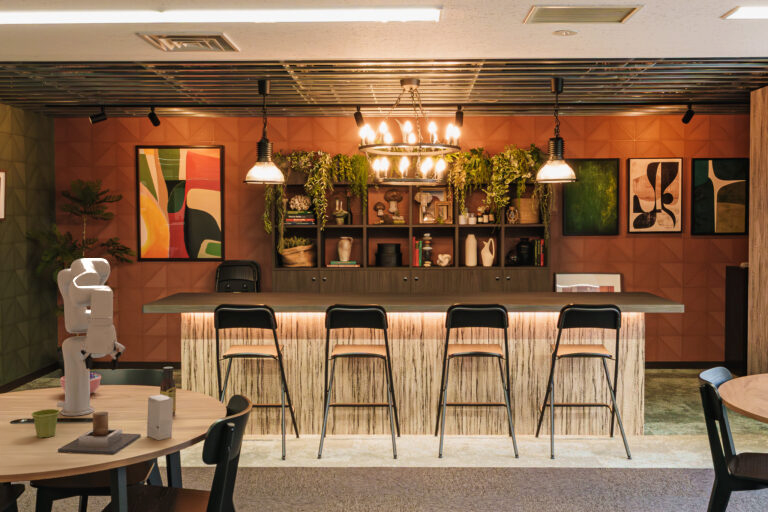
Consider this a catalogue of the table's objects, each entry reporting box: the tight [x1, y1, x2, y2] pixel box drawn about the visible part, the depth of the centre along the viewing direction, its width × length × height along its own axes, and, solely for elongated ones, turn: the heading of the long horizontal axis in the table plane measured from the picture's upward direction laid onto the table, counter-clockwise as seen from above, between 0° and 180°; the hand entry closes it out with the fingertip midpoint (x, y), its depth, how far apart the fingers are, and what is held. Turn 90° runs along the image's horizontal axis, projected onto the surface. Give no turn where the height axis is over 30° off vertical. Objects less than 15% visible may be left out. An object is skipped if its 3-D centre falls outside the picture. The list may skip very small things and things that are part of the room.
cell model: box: [60, 372, 102, 395], centre depth 314 cm, size 17×20×11 cm
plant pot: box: [31, 408, 61, 439], centre depth 251 cm, size 9×9×9 cm
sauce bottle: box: [159, 366, 177, 417], centre depth 279 cm, size 7×6×20 cm
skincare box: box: [146, 394, 174, 441], centre depth 251 cm, size 8×6×15 cm
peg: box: [92, 411, 109, 437], centre depth 242 cm, size 5×5×10 cm
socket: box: [57, 428, 142, 455], centre depth 242 cm, size 20×20×4 cm
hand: (101, 368), depth 248 cm, fingers open, 9 cm apart
